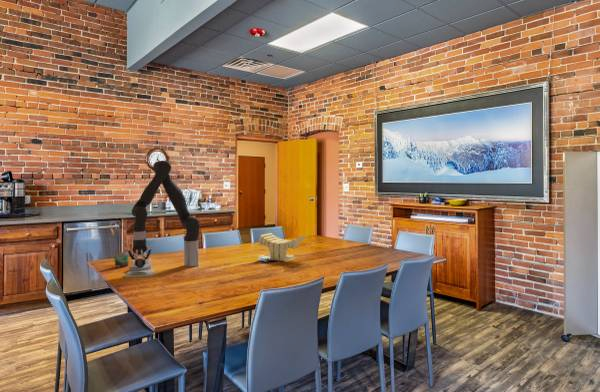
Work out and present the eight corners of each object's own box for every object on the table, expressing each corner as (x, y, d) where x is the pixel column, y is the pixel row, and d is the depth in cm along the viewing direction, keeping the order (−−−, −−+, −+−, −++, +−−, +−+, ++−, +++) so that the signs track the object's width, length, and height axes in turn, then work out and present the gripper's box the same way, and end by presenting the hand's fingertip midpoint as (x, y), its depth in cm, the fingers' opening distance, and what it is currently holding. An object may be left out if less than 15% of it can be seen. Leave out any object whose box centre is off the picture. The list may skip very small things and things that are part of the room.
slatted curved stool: (259, 259, 270) (259, 235, 269) (271, 255, 284) (271, 232, 283) (294, 264, 255) (294, 238, 254) (305, 259, 269) (305, 235, 268)
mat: (155, 270, 236) (155, 269, 236) (152, 275, 225) (152, 274, 225) (128, 272, 232) (128, 271, 232) (124, 277, 221) (124, 276, 220)
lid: (152, 265, 236) (152, 256, 235) (149, 270, 224) (149, 260, 223) (131, 266, 233) (131, 257, 232) (127, 271, 221) (127, 261, 220)
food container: (122, 268, 241) (121, 253, 241) (113, 268, 243) (113, 253, 242) (134, 264, 253) (133, 250, 253) (126, 264, 255) (125, 249, 254)
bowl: (152, 266, 247) (152, 257, 247) (149, 270, 237) (149, 261, 236) (134, 267, 245) (134, 258, 244) (131, 271, 234) (131, 262, 234)
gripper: (152, 237, 233) (153, 263, 233) (128, 237, 229) (129, 265, 230) (151, 238, 225) (151, 266, 226) (126, 239, 222) (126, 268, 223)
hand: (140, 265), depth 228 cm, fingers closed on lid, 3 cm apart
